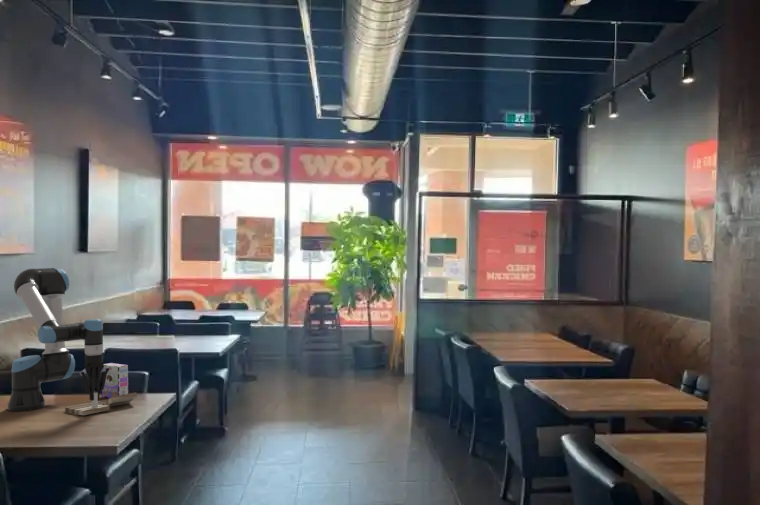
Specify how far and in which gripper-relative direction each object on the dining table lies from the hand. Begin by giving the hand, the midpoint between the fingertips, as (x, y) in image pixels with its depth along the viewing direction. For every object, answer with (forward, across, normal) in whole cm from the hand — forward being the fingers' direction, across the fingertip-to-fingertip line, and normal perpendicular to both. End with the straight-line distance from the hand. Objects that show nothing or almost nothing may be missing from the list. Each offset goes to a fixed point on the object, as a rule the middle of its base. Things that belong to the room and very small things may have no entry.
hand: (94, 407), depth 281 cm
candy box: (+3, +22, +24) cm, 32 cm away
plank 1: (+2, 0, +2) cm, 3 cm away
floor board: (+3, +7, +11) cm, 13 cm away
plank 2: (+1, +14, +3) cm, 14 cm away
